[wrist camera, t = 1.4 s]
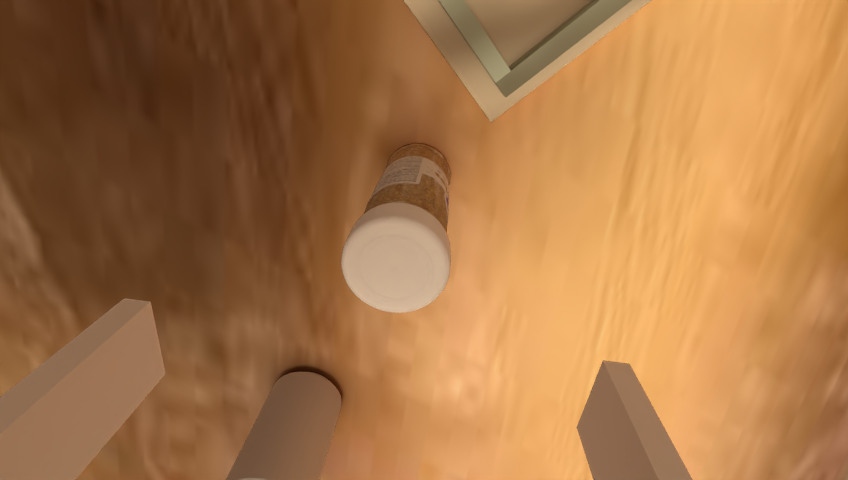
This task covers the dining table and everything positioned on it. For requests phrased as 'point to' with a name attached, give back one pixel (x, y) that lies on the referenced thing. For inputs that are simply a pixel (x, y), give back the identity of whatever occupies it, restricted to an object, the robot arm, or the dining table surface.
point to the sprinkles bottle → (402, 234)
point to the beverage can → (291, 431)
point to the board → (515, 40)
